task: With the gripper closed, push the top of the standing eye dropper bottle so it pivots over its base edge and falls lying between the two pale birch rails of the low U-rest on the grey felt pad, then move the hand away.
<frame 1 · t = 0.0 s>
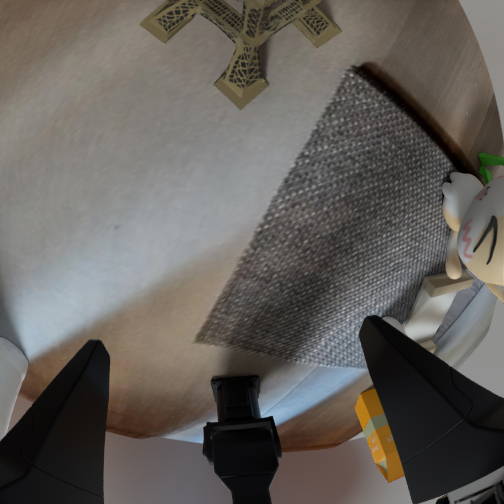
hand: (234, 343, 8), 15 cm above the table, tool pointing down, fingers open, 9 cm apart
eiffel tower: (243, 19, 14), on the table
bottle: (11, 351, 28), on the table
orange juice: (375, 393, 46), on the table
kitten: (455, 193, 24), on the table
u rest: (426, 315, 34), on the table
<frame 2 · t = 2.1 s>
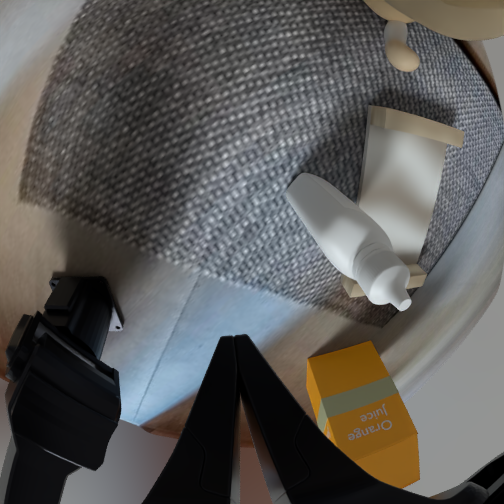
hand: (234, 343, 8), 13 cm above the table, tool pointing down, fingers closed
eye dropper bottle: (316, 200, 21), on the table
orange juice: (337, 364, 33), on the table
u rest: (398, 203, 21), on the table
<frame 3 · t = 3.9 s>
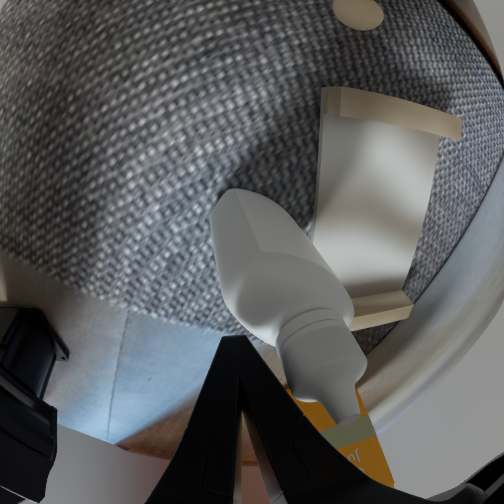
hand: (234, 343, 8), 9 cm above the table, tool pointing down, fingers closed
eye dropper bottle: (255, 222, 16), on the table, touching gripper
orange juice: (311, 395, 29), on the table
u rest: (373, 217, 17), on the table
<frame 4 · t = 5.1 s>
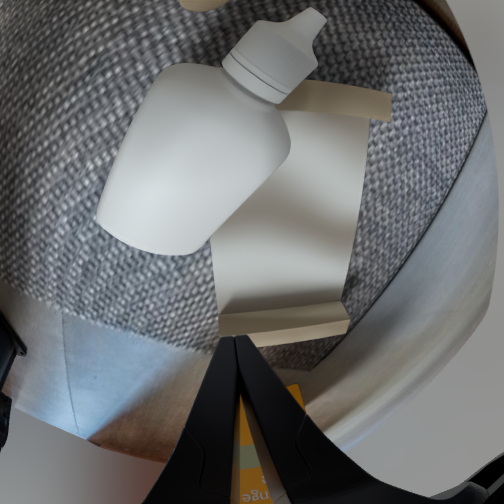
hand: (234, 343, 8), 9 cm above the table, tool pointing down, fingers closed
eye dropper bottle: (146, 226, 13), point 2 cm above the table, touching u rest
orange juice: (261, 404, 28), on the table
u rest: (286, 221, 16), on the table
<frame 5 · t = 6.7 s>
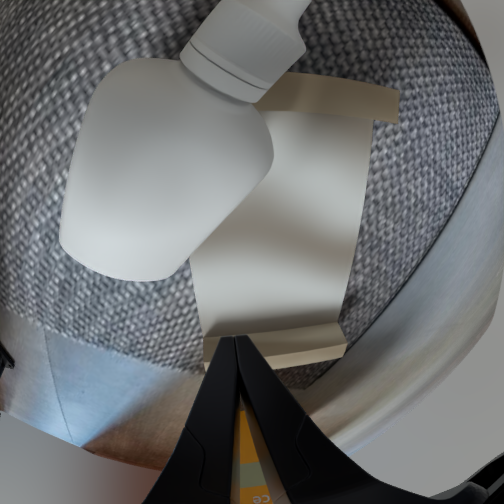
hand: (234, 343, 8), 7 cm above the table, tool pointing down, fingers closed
eye dropper bottle: (116, 248, 11), point 2 cm above the table, touching u rest
orange juice: (255, 420, 26), on the table
u rest: (276, 238, 14), on the table
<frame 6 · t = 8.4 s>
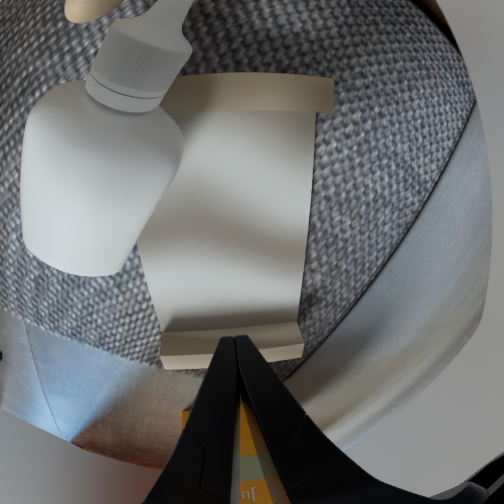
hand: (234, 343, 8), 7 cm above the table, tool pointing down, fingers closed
eye dropper bottle: (73, 246, 12), point 2 cm above the table, touching u rest
orange juice: (230, 418, 27), on the table
u rest: (222, 236, 14), on the table
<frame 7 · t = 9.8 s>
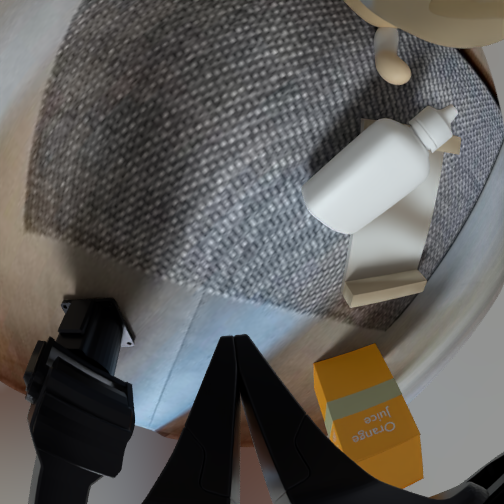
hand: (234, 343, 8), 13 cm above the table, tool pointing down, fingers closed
eye dropper bottle: (325, 214, 19), point 2 cm above the table, touching u rest
orange juice: (343, 367, 34), on the table
u rest: (395, 212, 22), on the table
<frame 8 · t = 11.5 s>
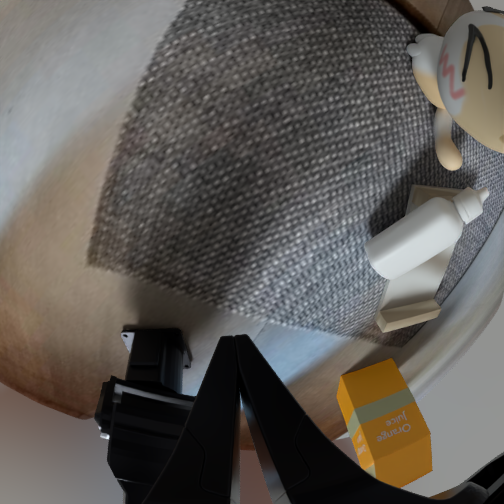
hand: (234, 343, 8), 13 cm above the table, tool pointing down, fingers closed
eye dropper bottle: (377, 263, 22), point 2 cm above the table, touching u rest
orange juice: (363, 377, 37), on the table
kitten: (431, 68, 15), on the table
u rest: (423, 256, 25), on the table
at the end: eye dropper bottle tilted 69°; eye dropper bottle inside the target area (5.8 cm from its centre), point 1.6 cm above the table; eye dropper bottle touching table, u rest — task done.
